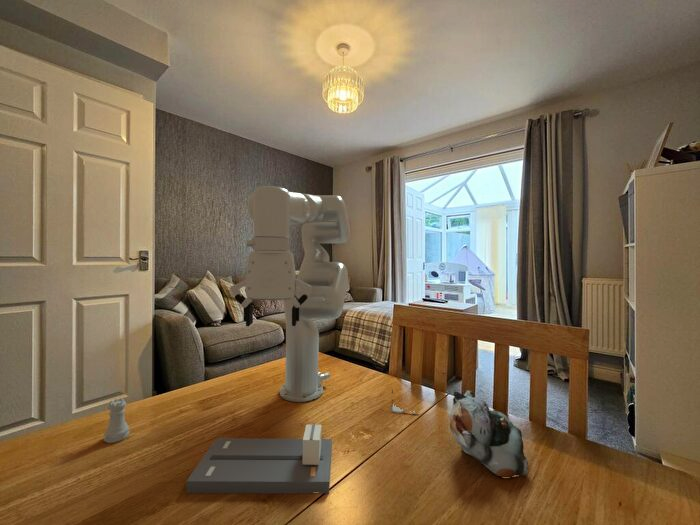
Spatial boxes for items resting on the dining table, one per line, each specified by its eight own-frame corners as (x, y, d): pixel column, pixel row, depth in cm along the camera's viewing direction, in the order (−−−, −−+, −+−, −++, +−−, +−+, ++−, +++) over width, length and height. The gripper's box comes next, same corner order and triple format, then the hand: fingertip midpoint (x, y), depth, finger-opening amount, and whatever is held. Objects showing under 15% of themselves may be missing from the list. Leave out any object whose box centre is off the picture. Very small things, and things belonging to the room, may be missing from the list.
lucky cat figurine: (531, 492, 52) (496, 424, 52) (464, 489, 59) (432, 429, 58) (527, 426, 65) (498, 371, 64) (472, 430, 71) (446, 380, 71)
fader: (302, 464, 55) (302, 438, 54) (305, 447, 60) (306, 423, 59) (319, 464, 55) (319, 438, 55) (321, 447, 60) (321, 423, 60)
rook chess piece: (115, 445, 63) (115, 407, 63) (98, 442, 64) (98, 404, 63) (134, 433, 67) (135, 397, 67) (118, 430, 68) (118, 395, 68)
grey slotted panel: (186, 492, 51) (186, 480, 51) (216, 447, 63) (216, 437, 63) (329, 493, 51) (329, 481, 51) (331, 448, 63) (331, 438, 63)
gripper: (224, 245, 60) (225, 329, 61) (311, 246, 62) (311, 329, 63) (235, 245, 68) (236, 320, 69) (313, 246, 69) (312, 320, 70)
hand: (272, 324), depth 66 cm, fingers open, 9 cm apart
